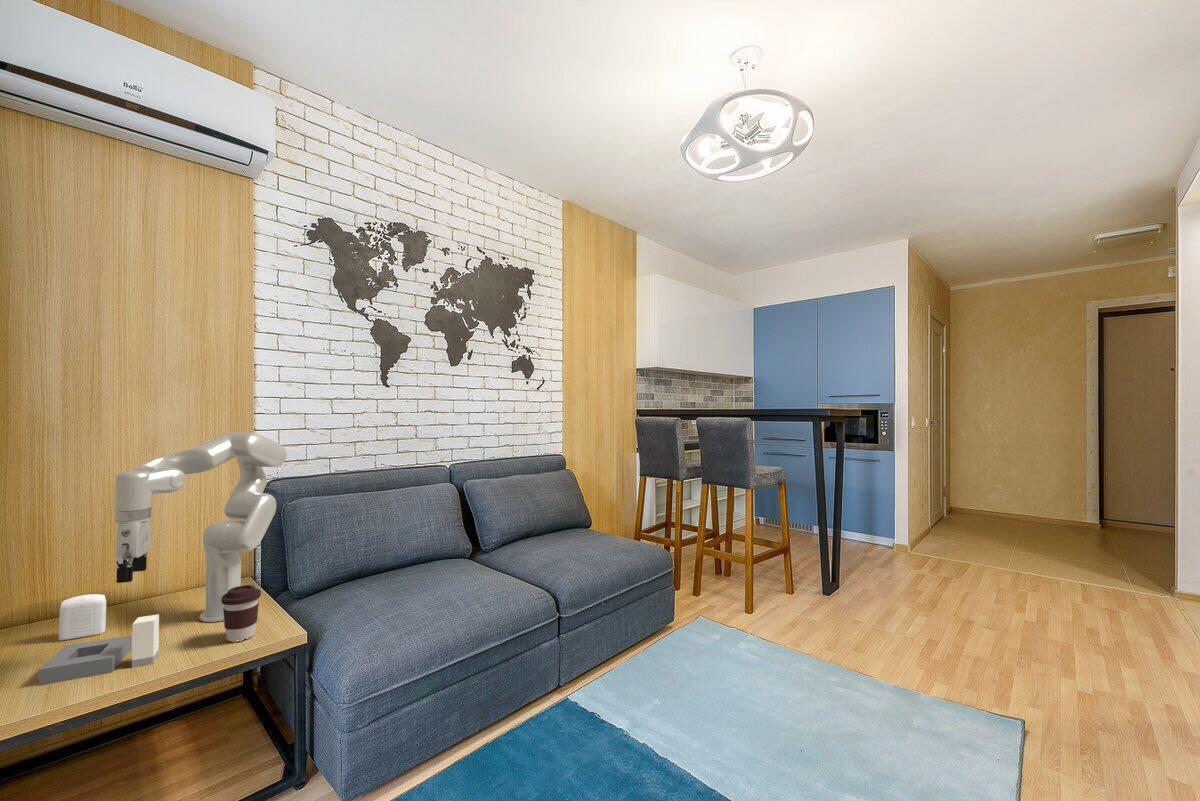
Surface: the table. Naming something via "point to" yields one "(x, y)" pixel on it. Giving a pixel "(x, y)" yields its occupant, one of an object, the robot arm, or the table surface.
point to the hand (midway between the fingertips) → (131, 576)
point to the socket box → (85, 660)
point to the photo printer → (82, 616)
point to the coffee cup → (240, 612)
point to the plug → (145, 640)
